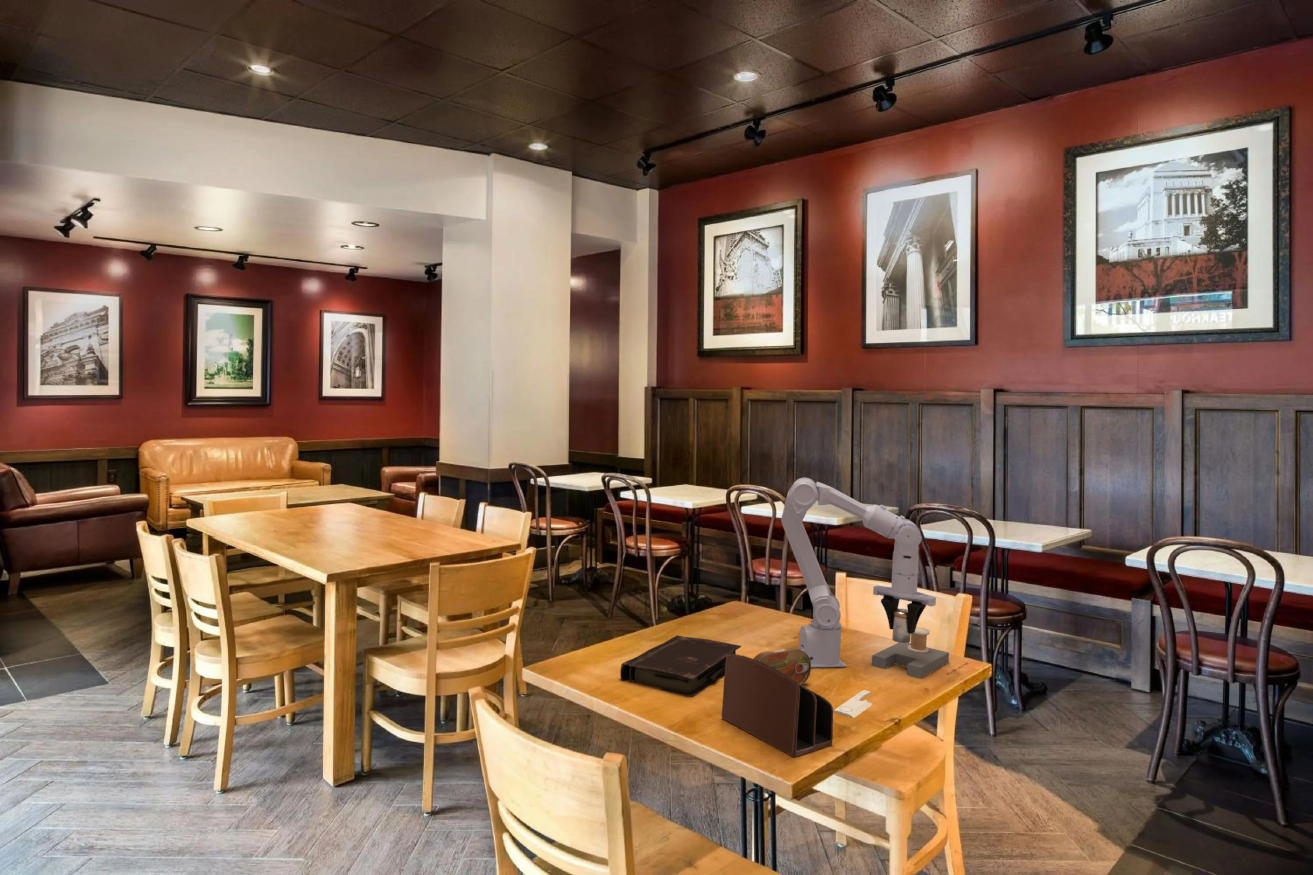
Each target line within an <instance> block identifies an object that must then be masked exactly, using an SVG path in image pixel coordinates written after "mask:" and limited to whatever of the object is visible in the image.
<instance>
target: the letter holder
mask: <svg viewBox="0 0 1313 875" xmlns="http://www.w3.org/2000/svg"><path fill="white" fill-rule="evenodd" d="M724 675H725V676H723V678H724V679H723V691H722V692H723V693H722V708H721V720H724V721H725V722H727V723H729V724H730V725H732V726H735V727H736V728H738V729H741V730H742V731H744V732H746V733H748V734H749V735H751V736H753V737H755V738H757V739H759V740H760V741H762V742H764V743H766V744H768V745H770V746H771V747H773V748H775V749H777V750H779V751H781V752H783V753H784V754H786V755H787V756H790V757H792V758H797V757H800V756H804V755H806V754H810V753H812V752H816V751H819V750H822V749H824V748H828V747H830V746H833V740H834V738H833V737H834V736H833V735H834V734H833V733H834V726H833V725H834V707H833V705H832V703H831V702H830V701H829V700H827V699H826V698H825V697H823V696H822V695H820V694H818V693H816V692H815V691H812V690H810V689H808V688H807V687H805V686H803V685H802V686H801V685H800V684H798V683H797V682H796V681H795V680H794V679H792V678H791V677H789V676H787V675H786V674H784V673H782V672H781V671H779V670H777V669H775V668H773V667H771V666H769V665H767V664H765V663H763V662H760V661H758V660H755V659H753V658H751V657H748V656H744V655H741V654H737V653H736V654H728V655H727V656H726V665H725V674H724Z"/></svg>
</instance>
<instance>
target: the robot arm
mask: <svg viewBox="0 0 1313 875" xmlns="http://www.w3.org/2000/svg"><path fill="white" fill-rule="evenodd" d="M817 501H818V504H817V505H818V506H826V505H832V506H834V507H836V508H838V509H840V510H843V511H844V512H847V513H848V514H850V515H852V516H855V517H857V518H859V519H861V521H862V525H863V526H864V527H865V528H867V529H869V530H871V531H872V532H875V533H877V534H878V535H881V536H883V537H884V538H886V539H894V540H895V541H894V545H893V546H894V547H893V548H894V549H893V552H892V569H891V570H892V571H891V586H884V585H878V584H877V585H875V586H873V590H872V591H873V592H872V595H874V596H882V598H881V599H880V603H881V605H882V606H883V608H884V611H885V614H886V618H887V621H888V626H889V630H893V617H894V615H893V610H894V609H899V604H900V600H901V601H907V602H909V603H908V604H906V609H907V610H908V616H909V623H908V633H909V634H912V633H915V629H916V627H918V626H917V624H918V622H919V620H920V617H921V616H922V613H923V612H924V610H925V609H926V607H927V606H928V607H935V606H936V602H937V596H933V595H930V594H925V593H922V592H920V591H918V581H919V580H918V574H919V557H920V556H919V555H920V554H919V551H920V547H919V545H920V544H921V542H922V539H923V536H922V534H921V531H920V528H919V527H918V526H917V525H916V523H914V522H913V521H912V520H910V519H906V517H905V516H903V515H900V516H899V515H897V514H895V513H893V512H891V511H889V510H887V507H886V506H885V505H883V504H880V505H878V504H872V505H870V506H867V505H866V504H864V503H861V502H860V501H858V500H856V499H854V498H852V497H851V496H848V494H847V495H846V494H845V493H843V492H841V491H839V490H837V489H836V488H834V487H832V486H829V485H828V484H825V483H822V482H819V481H816V482H815V481H814V480H813V479H812V478H809V477H801V478H798V479H796V480H795V481H794V482H793V484H792V485H791V486H790V488H789V490H788V492H787V495H786V498H785V502H784V507H783V510H782V514H781V519H780V520H781V525H782V527H783V530H784V533H785V535H786V537H787V540H788V542H789V545H790V548H791V549H792V553H793V556H794V557H795V560H796V563H797V565H798V568H799V571H800V573H801V575H802V576H801V577H802V578H803V580H804V583H805V586H806V588H807V591H808V595H809V597H810V602H811V604H812V607H813V609H812V611H813V612H812V617H813V618H812V619H811V620H810V623H809V624H806V625H801V626H800V629H799V633H798V649H799V650H802V651H804V652H805V653H806V654H807V655H808V657H809V659H810V662H811V668H846V667H847V664H846V663H845V662H844V661H842V660H841V644H842V641H841V640H842V623H841V618H842V617H841V611H840V608H841V607H840V601H839V599H838V598H837V597H836V596H835V595H834V594H833V593H832V592H831V589H830V587H829V584H828V583H827V581H826V579H825V576H824V574H823V571H822V569H821V566H820V564H819V561H818V559H817V556H816V553H815V550H814V549H813V546H812V543H811V540H810V538H809V536H808V533H807V531H806V529H805V525H804V523H803V521H804V518H805V517H806V515H807V512H808V511H809V510H810V509H811V508H812V507H813V506H815V504H816V502H817Z"/></svg>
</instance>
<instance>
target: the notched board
mask: <svg viewBox="0 0 1313 875" xmlns="http://www.w3.org/2000/svg"><path fill="white" fill-rule="evenodd" d="M930 632H931V631H930V630H929V629H927V628H925V627H921V626H916V629H915V633H912V634H911V636H910V642H909V643H899V642H896V643H895V644H893V645H891V646H889V647H886V648H884V649H882V650H880V651H878V652H876V653H874V654H872V655H871V666H873V667H876V668H880V669H884V670H886V669H887V668H889V667H891V666H894V665H898V666H902V667H906V676H909V677H914V678H917V679H920V678H921V679H922V678H924V677H926V676H927V675H930V674H931V673H933V672H934V670H935V671H936V669H937V668H938V669H940V668H941V666H942V667H943V665H944V664H945V665H948V664H949V663H950V662H949V660H950V659H949V658H950V652H948V651H944V650H940V649H937V648H932V647H928V646H927V639H928V635H930ZM945 665H944V666H945ZM938 669H937V670H938ZM932 671H933V672H932ZM930 672H931V673H930Z"/></svg>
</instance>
